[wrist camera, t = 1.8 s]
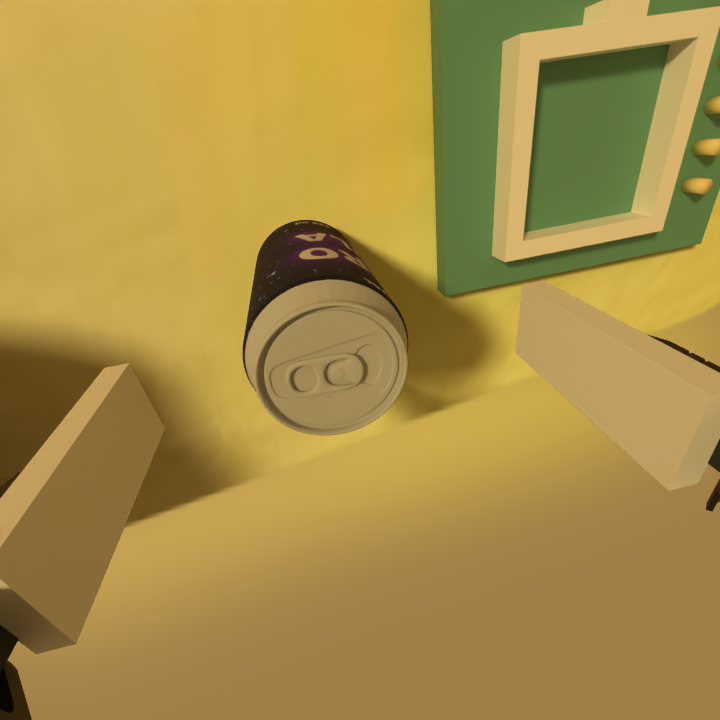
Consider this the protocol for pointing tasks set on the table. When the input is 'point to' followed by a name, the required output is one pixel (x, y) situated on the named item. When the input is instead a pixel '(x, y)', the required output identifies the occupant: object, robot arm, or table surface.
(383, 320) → the beverage can
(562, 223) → the header board
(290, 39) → the table surface
